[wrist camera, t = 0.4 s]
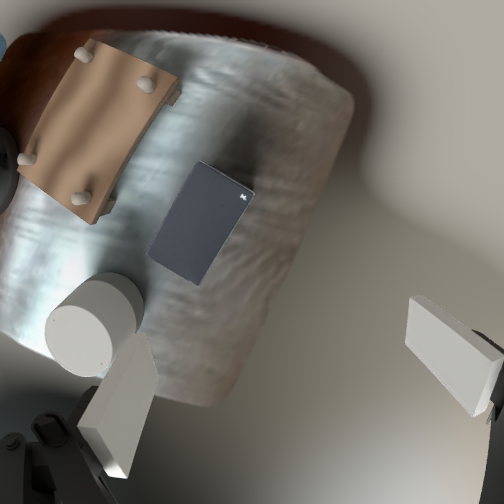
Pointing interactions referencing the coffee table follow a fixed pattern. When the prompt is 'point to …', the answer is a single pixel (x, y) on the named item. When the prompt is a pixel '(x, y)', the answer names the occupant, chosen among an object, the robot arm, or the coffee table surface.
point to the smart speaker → (94, 323)
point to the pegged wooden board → (94, 127)
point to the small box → (200, 222)
